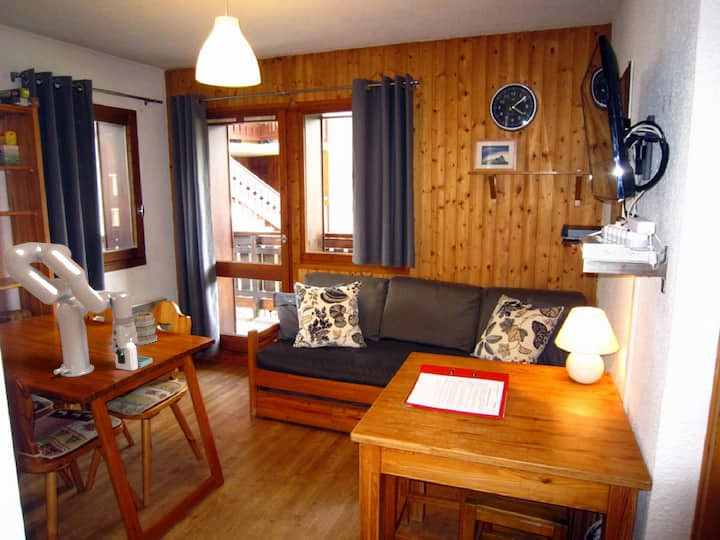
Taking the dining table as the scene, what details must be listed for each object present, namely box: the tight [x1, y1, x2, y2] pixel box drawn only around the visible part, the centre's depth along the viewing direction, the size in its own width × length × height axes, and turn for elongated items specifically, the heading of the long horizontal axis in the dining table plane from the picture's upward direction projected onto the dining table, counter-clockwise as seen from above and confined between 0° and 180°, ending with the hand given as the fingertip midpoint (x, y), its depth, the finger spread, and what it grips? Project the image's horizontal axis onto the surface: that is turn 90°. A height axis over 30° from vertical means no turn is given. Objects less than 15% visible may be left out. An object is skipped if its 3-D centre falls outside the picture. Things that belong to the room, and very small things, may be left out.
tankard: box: [132, 311, 159, 346], centre depth 255 cm, size 20×13×15 cm, turn 152°
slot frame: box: [137, 355, 153, 369], centre depth 228 cm, size 7×13×2 cm, turn 70°
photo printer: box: [114, 342, 139, 371], centre depth 221 cm, size 10×4×12 cm, turn 66°
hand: (126, 361), depth 221 cm, fingers closed on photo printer, 4 cm apart
